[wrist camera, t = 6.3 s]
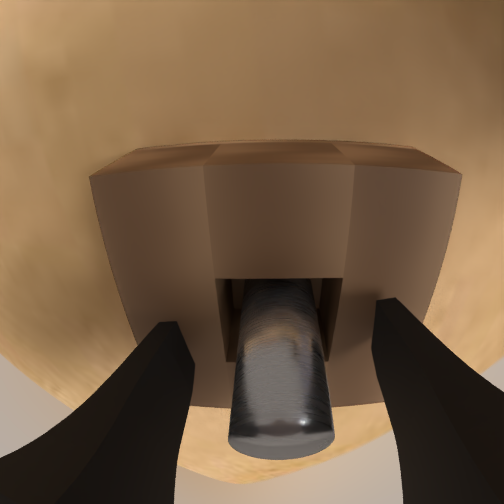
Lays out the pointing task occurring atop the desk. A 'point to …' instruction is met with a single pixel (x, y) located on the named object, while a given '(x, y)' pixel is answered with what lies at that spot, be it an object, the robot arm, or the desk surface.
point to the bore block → (275, 243)
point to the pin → (280, 374)
